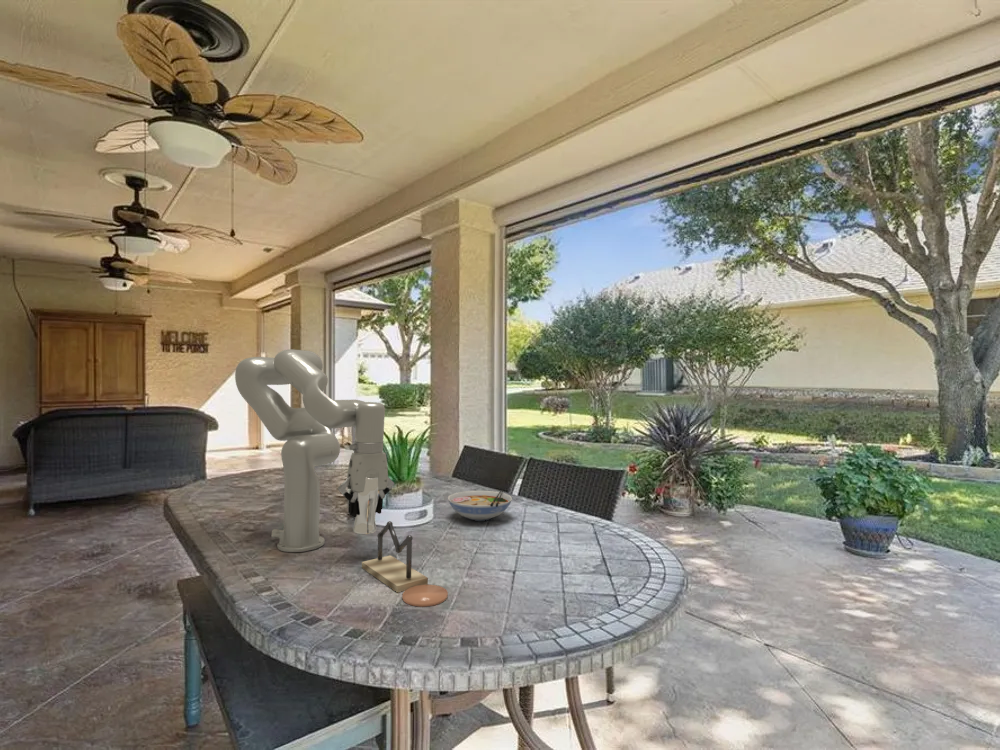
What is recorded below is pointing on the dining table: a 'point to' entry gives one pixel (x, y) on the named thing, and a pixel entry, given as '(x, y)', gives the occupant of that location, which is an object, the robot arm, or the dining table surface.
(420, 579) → the wire board
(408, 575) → the bent wire
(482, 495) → the ramen bowl
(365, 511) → the beer glass
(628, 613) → the dining table surface
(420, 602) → the terracotta coaster
